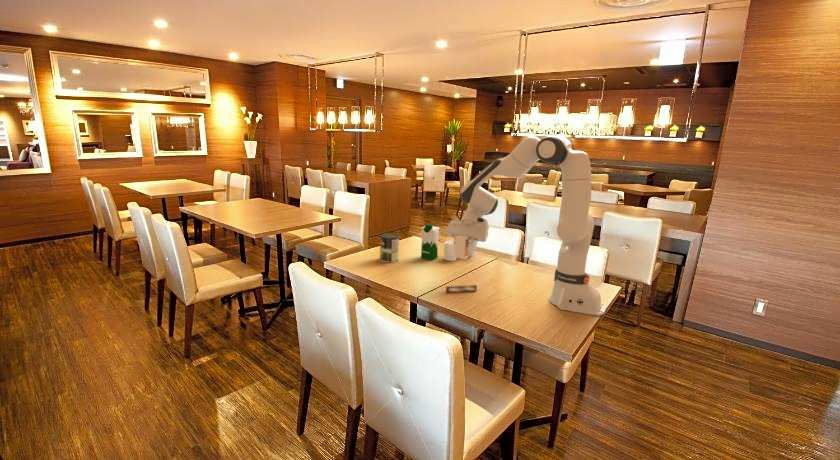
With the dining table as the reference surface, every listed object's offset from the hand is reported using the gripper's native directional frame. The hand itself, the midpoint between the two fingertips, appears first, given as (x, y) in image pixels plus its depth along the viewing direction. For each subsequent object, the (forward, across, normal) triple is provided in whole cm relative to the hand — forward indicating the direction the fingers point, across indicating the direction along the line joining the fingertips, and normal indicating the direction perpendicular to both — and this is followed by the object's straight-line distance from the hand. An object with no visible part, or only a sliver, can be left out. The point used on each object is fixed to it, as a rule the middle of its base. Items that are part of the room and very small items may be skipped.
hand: (461, 245), depth 180 cm
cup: (-19, -16, +45) cm, 52 cm away
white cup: (-8, -20, +35) cm, 41 cm away
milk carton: (-5, -31, +31) cm, 44 cm away
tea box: (+4, 0, +5) cm, 6 cm away
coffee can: (+7, -47, +19) cm, 51 cm away
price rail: (+19, +5, +7) cm, 21 cm away
